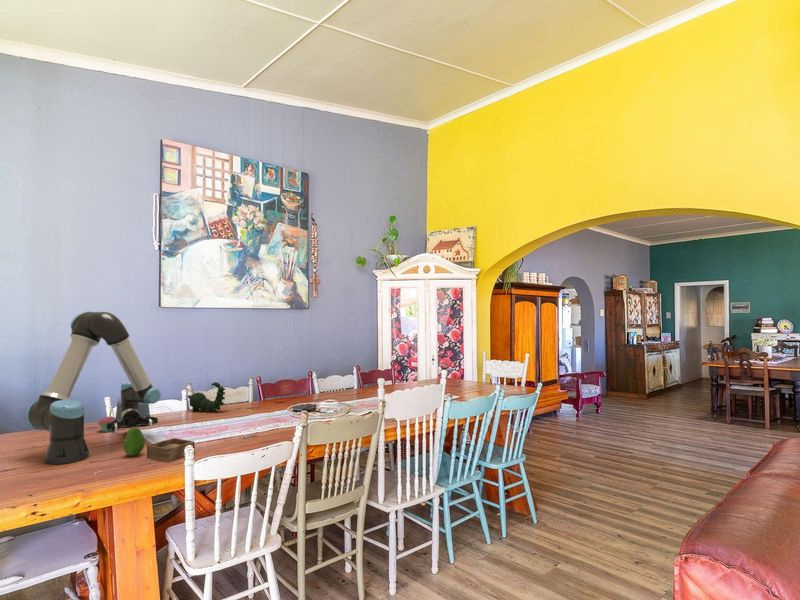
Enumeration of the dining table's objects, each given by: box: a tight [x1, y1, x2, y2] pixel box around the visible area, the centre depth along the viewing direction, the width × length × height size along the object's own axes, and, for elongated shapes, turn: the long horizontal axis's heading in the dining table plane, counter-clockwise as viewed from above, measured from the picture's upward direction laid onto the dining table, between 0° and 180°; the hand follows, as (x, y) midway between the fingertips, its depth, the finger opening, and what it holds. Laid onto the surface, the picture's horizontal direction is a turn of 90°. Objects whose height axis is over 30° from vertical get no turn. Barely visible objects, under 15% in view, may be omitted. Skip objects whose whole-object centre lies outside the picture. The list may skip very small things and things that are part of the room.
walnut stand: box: [146, 437, 195, 463], centre depth 208 cm, size 13×13×5 cm
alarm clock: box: [115, 396, 151, 429], centre depth 265 cm, size 16×16×16 cm
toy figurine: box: [186, 381, 226, 413], centre depth 296 cm, size 9×19×25 cm
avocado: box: [123, 426, 146, 456], centre depth 208 cm, size 8×8×12 cm
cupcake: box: [97, 407, 116, 433], centre depth 251 cm, size 9×8×12 cm
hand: (134, 427), depth 217 cm, fingers open, 13 cm apart
